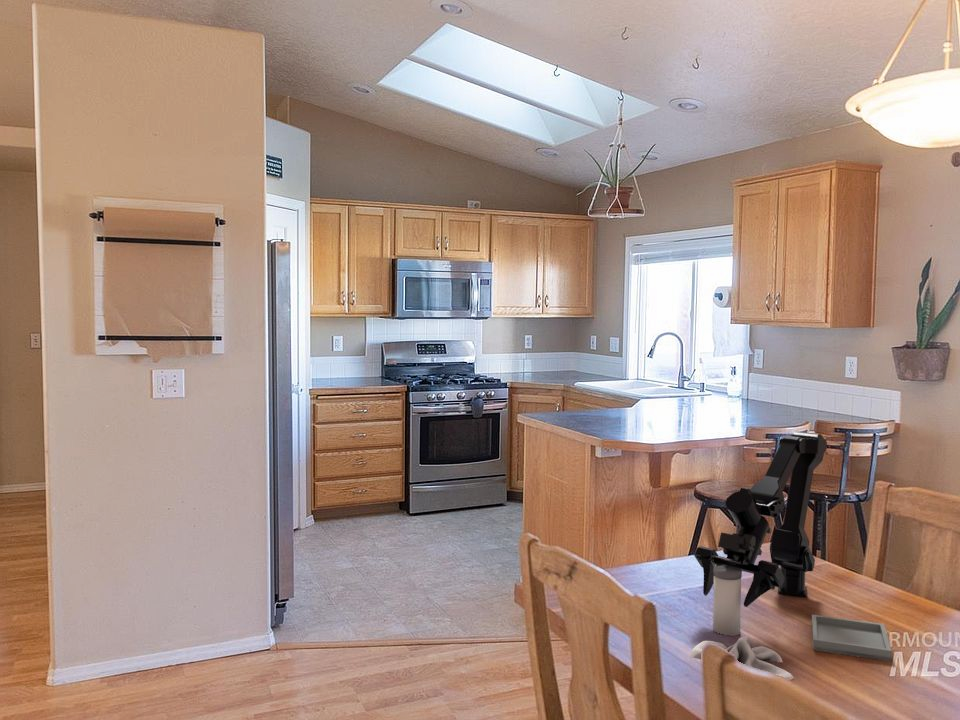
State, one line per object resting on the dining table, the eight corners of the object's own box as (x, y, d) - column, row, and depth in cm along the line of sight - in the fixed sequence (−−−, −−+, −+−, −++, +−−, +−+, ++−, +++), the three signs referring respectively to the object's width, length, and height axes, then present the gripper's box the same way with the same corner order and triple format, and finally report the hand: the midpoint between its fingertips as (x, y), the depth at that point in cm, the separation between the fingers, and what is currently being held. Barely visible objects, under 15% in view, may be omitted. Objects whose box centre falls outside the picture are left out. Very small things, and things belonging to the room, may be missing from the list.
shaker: (713, 623, 170) (714, 564, 169) (741, 627, 168) (742, 567, 167) (711, 633, 164) (712, 572, 164) (739, 637, 162) (740, 575, 161)
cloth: (681, 644, 160) (681, 615, 160) (772, 646, 159) (773, 617, 159) (704, 697, 138) (705, 664, 138) (811, 701, 137) (812, 667, 137)
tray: (811, 624, 169) (812, 614, 169) (883, 634, 164) (884, 623, 163) (813, 650, 156) (813, 639, 156) (891, 661, 151) (891, 650, 150)
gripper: (698, 510, 174) (671, 570, 167) (779, 526, 161) (754, 591, 154) (715, 537, 180) (690, 596, 173) (794, 555, 167) (771, 619, 160)
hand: (724, 600), depth 165 cm, fingers open, 9 cm apart
